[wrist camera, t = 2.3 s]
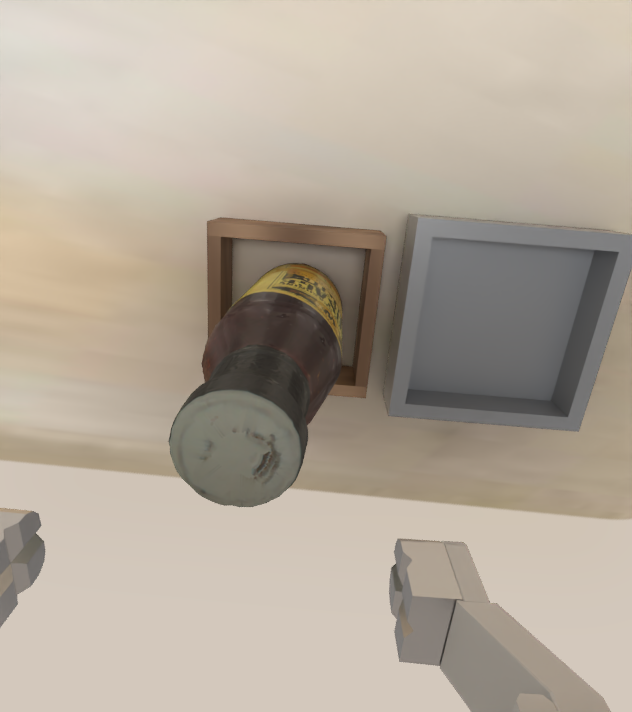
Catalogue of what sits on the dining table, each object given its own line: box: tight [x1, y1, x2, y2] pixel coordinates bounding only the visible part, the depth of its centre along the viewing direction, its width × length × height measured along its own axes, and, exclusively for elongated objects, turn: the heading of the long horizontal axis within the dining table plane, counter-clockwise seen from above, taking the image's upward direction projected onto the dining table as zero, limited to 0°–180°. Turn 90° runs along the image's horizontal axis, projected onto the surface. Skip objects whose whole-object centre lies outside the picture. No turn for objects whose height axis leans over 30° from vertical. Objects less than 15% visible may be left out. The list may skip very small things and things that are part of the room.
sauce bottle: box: [169, 264, 342, 507], centre depth 23 cm, size 7×6×20 cm
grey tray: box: [383, 214, 632, 432], centre depth 30 cm, size 13×13×4 cm
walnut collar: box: [207, 218, 386, 398], centre depth 30 cm, size 11×11×4 cm
